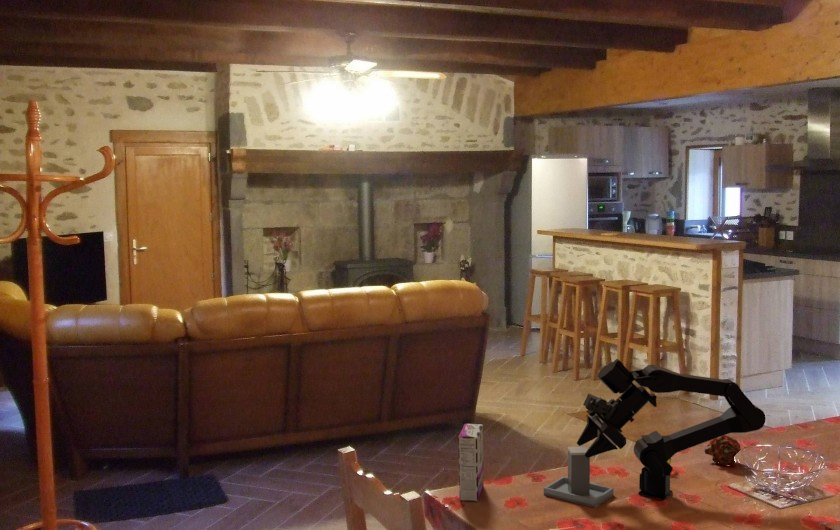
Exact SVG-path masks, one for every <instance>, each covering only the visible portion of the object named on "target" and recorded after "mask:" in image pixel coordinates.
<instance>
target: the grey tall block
mask: <svg viewBox="0 0 840 530" xmlns="http://www.w3.org/2000/svg"><path fill="white" fill-rule="evenodd" d="M588 449H589V447H587V446H585V445H584V446H567V477H568V491H569V493H571V494H575V495H579V496H590V483H591V481H590V480H591V479H590V478H591V476H590V475H591V464H590V463H591V457H589V458H587V457H586V456H585V453H586V451H587V450H588Z"/></svg>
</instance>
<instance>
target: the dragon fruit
mask: <svg viewBox="0 0 840 530" xmlns="http://www.w3.org/2000/svg"><path fill="white" fill-rule="evenodd" d="M706 446H707V447H708V448H704V449H703V450H704V454H706V455H709V456H711V457H712V461H713V462H714V463H715V464H717V463H718V462H719V464H720V465H723V466H724V465H731V464H732V465H736V464H737V463H735V461H734V456H735V455H736V454H737V453H738V452H739V451H740V450H742V449H741V444H740V442H738V440H737V439H734V437H732V436H729V435H727V434H726V435H723V436H721V437H718V438H715V439H713V440H710V443H709V444H707V445H706ZM732 465H731V466H732Z"/></svg>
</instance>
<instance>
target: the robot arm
mask: <svg viewBox="0 0 840 530" xmlns="http://www.w3.org/2000/svg"><path fill="white" fill-rule="evenodd" d="M597 379H599V380H600V382H602V383H603V384H604V385H605V387H607V388H608V389H609V390H610V391H611V392H612V393H613V394H618V393H619V394H620V395H619V396H618V397H617V398H616V399H614V398H611V399H609V401H607V400H606V399H605V398H604V399H603V398H602V397H601V396H600V397H598V396H596V395H593V394H591V393H588V394H587V396H586V398H585V399H584V402H583V403H582V405H583V406H584V407H585V409H586V413H587V414H586V415H585V416H586V417H585V418H586V425H585V427H584V429H583V431H582V432H581V434H580V436H579V438H578V440H577V441H576V444H577V445H578V447H582V446H583V445H585V444H587V443H590V442H591V441H592V443H591V445H590V446H589V447H588V450H587V451H586V453H585V456H586V457H587V458H589V457H590V458H592V457H595V456H599V455H600V454H604V453H606V452H610V451H614V450H616V451H617V450H618V449H620V450H622V448H624V447H625V446H626V445H627V438H626V436H624V434H623V430H622V428H623V427H624V426H625V425H626V424H627V423H628V422H630V423H632V422H634V421H635V419H634V417H635V416H636V415H637V414H638V413H639V412H640V411H641V410H642V409H643V408H644V407H645V406H646V405H647V404H648V403H650V404H651V406H653V407H654V408H656V407H657V397H658V395H656V394H662V393H665V394H667V393H674V392H689V393H695V394H704V395H711V396H717V397H723V398H724V399H725V401H726V402H727V404H728V405H729V408H727V409H726V410H725V411H724V412H723V413H722V414H721V415H719V416H717V417H714V418H711V419H709V420H708V419H707V420H706V421H704V422H700V423H697V424H695V425H693V426H689V427H687V428H685V429H682V430H679V431H675V432H674V433H670V434H667V435H661V434H660V433H659V432H658V430H654V431H652V432H650V433H649V434H645V435H644V434H643V435H640V438H639V439H637V440H636V441H635V443H634V445H633V454H634V455H635V457H636V458H637V460H639V462H640V463H641V465H643V467H642V468H641V473H640V474H639V488H638V489H639V491H638V492H637V493H638V495H639V496H643V497H647V498H652V499H657V500H661V501H663V500H665V499H667V498H668V497H669V496H670V495H672V494H673V490H671V474H672V471H673V466H672V465H671V463H670V464H669V463H668V462H667V461H668V460H669V459H670V458H671V459H672V458H673V457H674V456H675V454H677V453H680V452H683V451H685V450H688V449H690V448H693V447H696V446H699V445H701V444H704V443H707V442H709V441H712V440H713V439H715V438H720V437H721V436H723V435H726V436H727V435H728V434H742V433H744V434H746V433H750V432H757V431H759V430H761V429H762V428H764V425H765V423H766V419H767V418H766V415H765V412H764V411H763V410H762V409H761V408H759V407H758V406H757V405H755V404H754V403H753V402H752V401H751V400H750V399H749V398H748V397H747V395H746V394H745V393H744V392H743V391H742V389H741V388H740V385H739V384H738V383H736V382H735V381H733V380H732V379H729V378H725V379H723V378H714V377H708V376H702V375H701V376H700V375H694V374H692V375H691V374H685V373H679V372H676V371H674V370H672V369H671V370H670V369H669V368H665V367H662V366H659V365H656V364H648V365H646V366H645V367H644V368H643V369H635V370H631V371H630V370H629V369H628V368H627V367H626V366H625V364H624V363H623V362H622V361H621V360H620V359H619V358H615V360H614V361H611V362H609V363H608V364H606V365H604V366H603V367H602V368H601V369H600V371H598V374H597ZM634 382H636V383H637V385H639V386H637V385H636V384H635V383H634ZM646 388H648V390H650V391H651V392H652V393H650V392H649V391H648V390H647V389H646ZM594 439H595V440H594ZM593 440H594V441H593Z"/></svg>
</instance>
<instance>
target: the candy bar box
mask: <svg viewBox="0 0 840 530" xmlns="http://www.w3.org/2000/svg"><path fill="white" fill-rule="evenodd" d="M483 427H484V425H483V424H481V423H480V424H479V423H464V424H463V427H462V429H461V431H460V433H459V435H458V436H457V437H458V439H457V440H458V470H459V471H458V477H459V478H458V479H459V481H458V482H459V483H458V484H459V501H463V502H476V503H477V502H479V500H480V497H481V494H482V491H483V488H484V487H485V483H484V482H485V481H484V478H485V477H484V433H483V431H484V430H483Z"/></svg>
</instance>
